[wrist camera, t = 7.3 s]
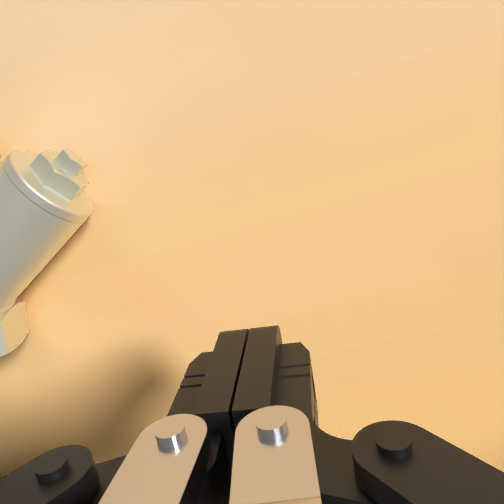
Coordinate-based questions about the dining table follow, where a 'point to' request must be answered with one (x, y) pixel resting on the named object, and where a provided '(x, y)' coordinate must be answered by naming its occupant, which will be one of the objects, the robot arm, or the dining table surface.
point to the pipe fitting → (34, 226)
